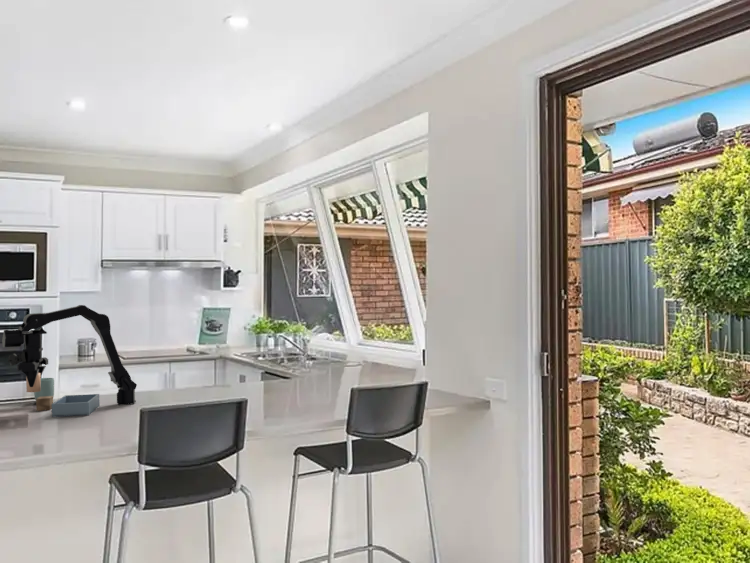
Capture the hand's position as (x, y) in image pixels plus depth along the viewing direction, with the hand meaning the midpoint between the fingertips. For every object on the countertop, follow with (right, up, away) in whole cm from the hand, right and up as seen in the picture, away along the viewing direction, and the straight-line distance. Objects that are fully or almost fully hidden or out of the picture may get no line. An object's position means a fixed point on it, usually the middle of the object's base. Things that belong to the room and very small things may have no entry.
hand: (33, 385), depth 263 cm
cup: (-10, -12, +28) cm, 32 cm away
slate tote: (+14, -11, +7) cm, 19 cm away
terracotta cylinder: (0, -2, 0) cm, 2 cm away
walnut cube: (-2, -12, +12) cm, 17 cm away
